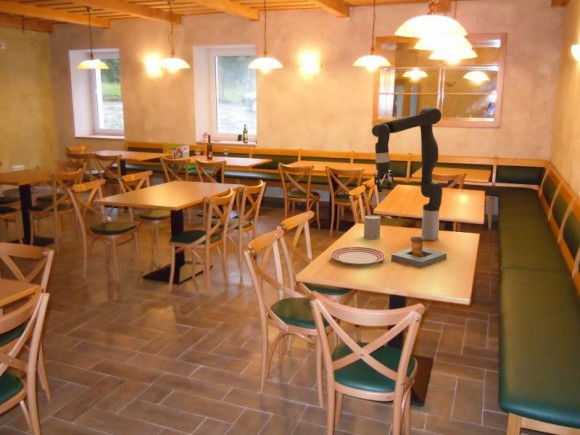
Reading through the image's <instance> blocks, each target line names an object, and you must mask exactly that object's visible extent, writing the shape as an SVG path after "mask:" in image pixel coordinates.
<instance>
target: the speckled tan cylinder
mask: <svg viewBox="0 0 580 435" xmlns="http://www.w3.org/2000/svg"><path fill="white" fill-rule="evenodd" d="M363 218H364V220H363V221H364V222H363V238H364V239H366V240H380V239H381V218H382V217H381V216H380V215H375V214H373V215H371V214H370V215H364V217H363Z"/></svg>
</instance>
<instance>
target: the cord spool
mask: <svg viewBox="0 0 580 435" xmlns="http://www.w3.org/2000/svg"><path fill="white" fill-rule="evenodd" d="M421 236H422V235H421ZM421 236H420V235H413V236H410V241H411V248H412V251H411V255H413V256H417V257H421V258H423V255H422V248H424V247H423V245H424V241H425V240H424V237H421Z"/></svg>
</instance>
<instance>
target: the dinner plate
mask: <svg viewBox="0 0 580 435" xmlns="http://www.w3.org/2000/svg"><path fill="white" fill-rule="evenodd" d="M330 256H331V258H332V259H334V260H335V261H338V262H339V263H344V264H347V265H351V266H368V265H373V264H377V263H380V262H381V261H383V260H384V259H385V258H386V253H384V252H383V251H381V250H379V249H376V248H373V247H368V246H346V247H345V246H344V247H339V248H337V249H333V251H331V253H330Z"/></svg>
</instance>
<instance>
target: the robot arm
mask: <svg viewBox="0 0 580 435" xmlns="http://www.w3.org/2000/svg"><path fill="white" fill-rule="evenodd" d="M441 118H442V112H441V110H440V109H439V108H437V107H434V106H433V107H431V106H427V107H426V106H425V107H423V108H421V109H420V111H419V114H415V115H410V116H403V117H399V118H395V119H393V120H389V121H385V122H379V123H375V124H374V126H373V127H372V128H371V134H372V135H373V136H374V137H375V138H377V142H376V143H375V146H374V149H375V170H376V171H377V173H374V176H373V178H374V179H373V180H374V185H376V186H377V192H378V193H382V192H383V186H382V184H383V182H384V181H386V188H387V190H388V191H389V190H392V182H393V181H394V180H395V178H394V171H393V169H391V159H390V158H391V157H390V151H389V150H390V149H389V142H390V136H391V135H390V134H396V133H397V134H398V133H401V132H403V131H406V130H409V129H414V128H416V127H417V128H418V127H420V143H421V144H420V145H421V148H420V149H421V181H420V182H421V183H420V193H421V195H422V196H423V197H424V198H428V199H429V200H428V202H426V203H423V206H422V218H421V220H422V221H421V225H422V226H421V237H424V241H437V240H438V239H439V233H440V232H439V231H440V208H441V205H442V200H443V199H442V198H443V186H442V184H441V183H439V182H435V181H433V171H434V169H435V168H436V166H437V163H438V161H439V145H438V143H437V140H436V138H435V136H434V132H433V131H434V130H433V125H436V124H438V123H439V122H440V121H441Z"/></svg>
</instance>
